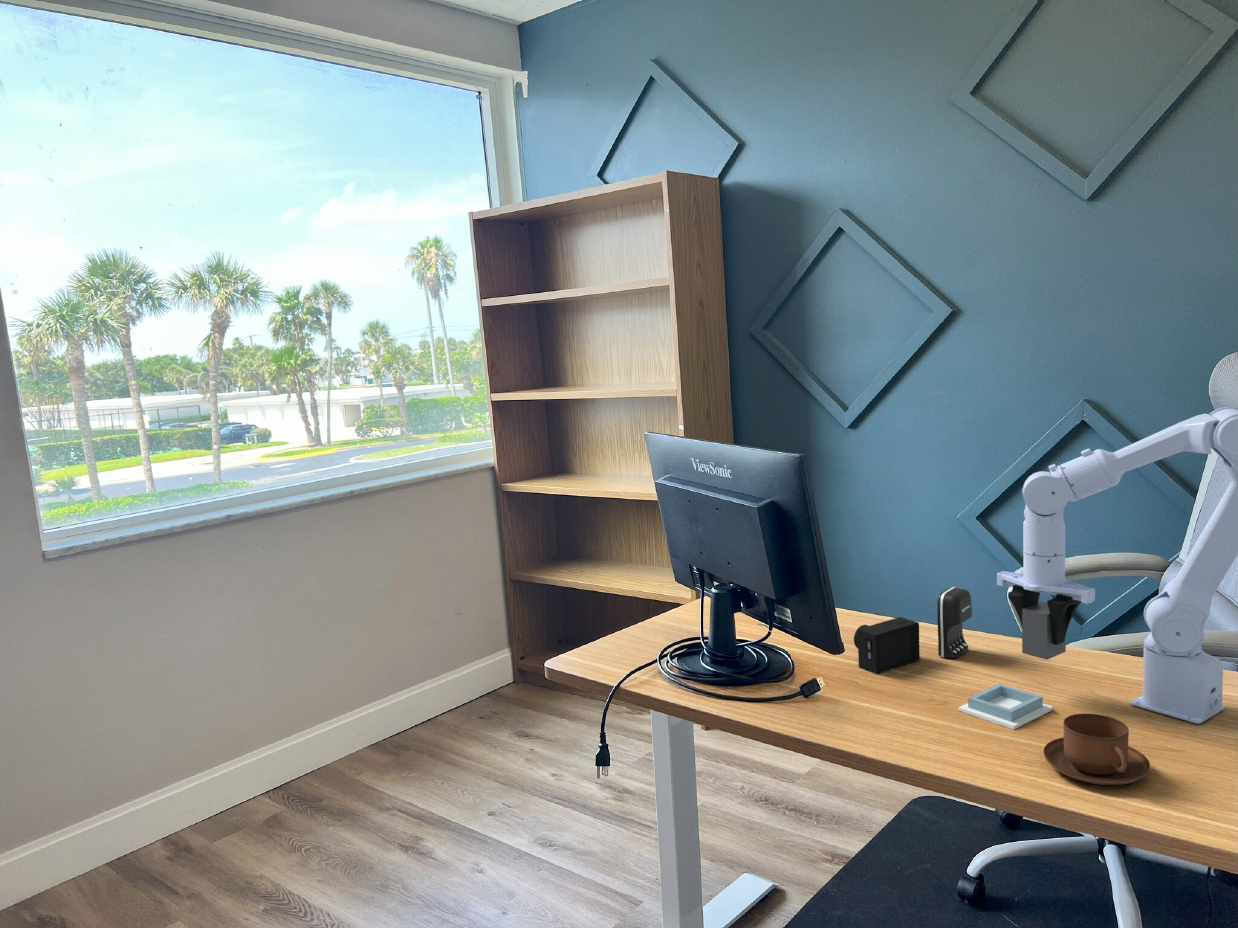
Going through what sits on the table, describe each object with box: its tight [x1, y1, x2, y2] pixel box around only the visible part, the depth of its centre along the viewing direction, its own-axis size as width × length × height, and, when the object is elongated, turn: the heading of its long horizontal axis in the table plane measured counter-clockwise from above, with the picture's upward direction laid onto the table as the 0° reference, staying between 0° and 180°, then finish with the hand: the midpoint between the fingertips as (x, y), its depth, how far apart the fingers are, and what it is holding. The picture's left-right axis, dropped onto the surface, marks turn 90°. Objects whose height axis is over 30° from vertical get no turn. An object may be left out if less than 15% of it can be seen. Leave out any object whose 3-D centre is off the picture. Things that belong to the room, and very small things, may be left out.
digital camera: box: [853, 616, 921, 675], centre depth 157 cm, size 10×5×7 cm, turn 120°
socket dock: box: [957, 683, 1054, 730], centre depth 135 cm, size 9×10×2 cm
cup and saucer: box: [1043, 713, 1151, 786], centre depth 116 cm, size 12×12×6 cm
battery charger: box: [936, 586, 973, 659], centre depth 159 cm, size 7×4×11 cm, turn 137°
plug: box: [1021, 601, 1067, 660], centre depth 138 cm, size 4×5×7 cm
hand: (1043, 639), depth 139 cm, fingers closed on plug, 4 cm apart
